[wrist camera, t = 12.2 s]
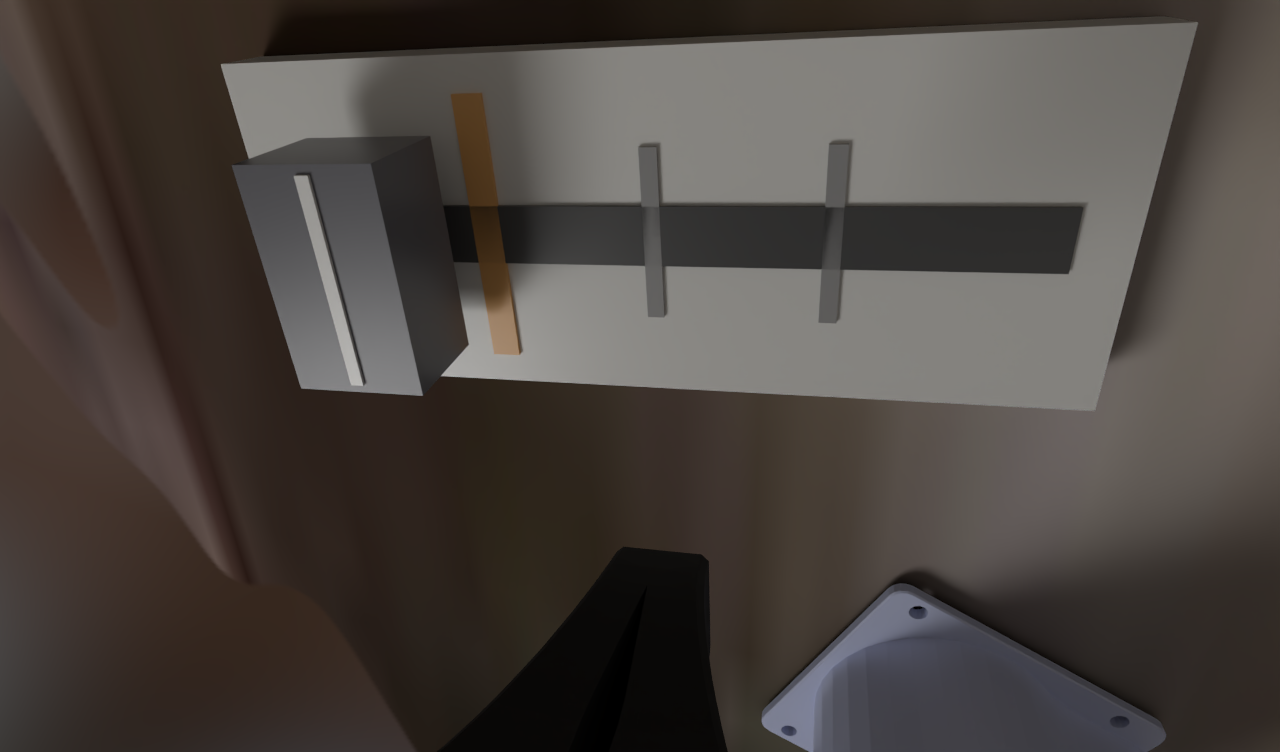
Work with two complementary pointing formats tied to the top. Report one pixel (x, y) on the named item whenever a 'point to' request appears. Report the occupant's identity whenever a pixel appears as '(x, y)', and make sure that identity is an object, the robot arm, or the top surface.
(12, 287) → the top surface
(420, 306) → the fader knob
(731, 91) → the fader board
